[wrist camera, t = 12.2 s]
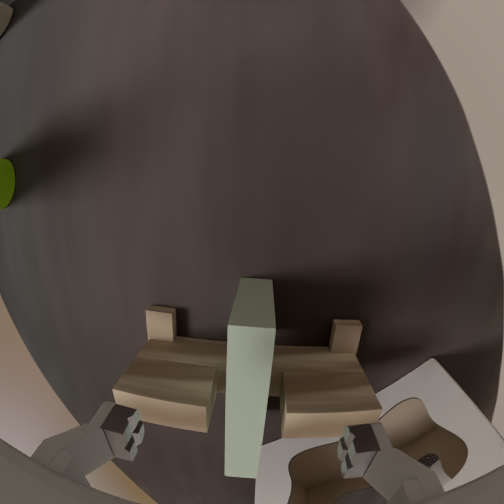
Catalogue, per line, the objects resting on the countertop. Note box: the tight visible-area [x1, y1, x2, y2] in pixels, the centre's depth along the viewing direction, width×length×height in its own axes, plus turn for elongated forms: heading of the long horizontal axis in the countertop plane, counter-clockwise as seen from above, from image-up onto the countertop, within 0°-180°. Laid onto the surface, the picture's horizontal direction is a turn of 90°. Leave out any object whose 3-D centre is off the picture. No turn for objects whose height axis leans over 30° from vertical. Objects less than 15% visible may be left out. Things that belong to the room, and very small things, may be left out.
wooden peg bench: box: [113, 305, 382, 438], centre depth 21 cm, size 8×18×9 cm, turn 87°
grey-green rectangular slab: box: [225, 277, 276, 478], centre depth 21 cm, size 14×2×9 cm, turn 176°
